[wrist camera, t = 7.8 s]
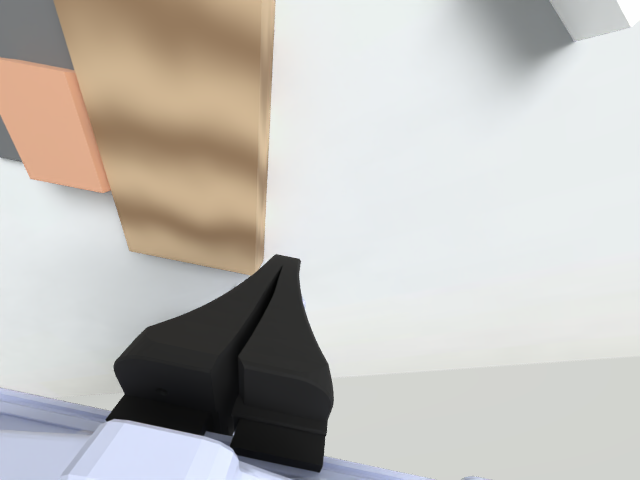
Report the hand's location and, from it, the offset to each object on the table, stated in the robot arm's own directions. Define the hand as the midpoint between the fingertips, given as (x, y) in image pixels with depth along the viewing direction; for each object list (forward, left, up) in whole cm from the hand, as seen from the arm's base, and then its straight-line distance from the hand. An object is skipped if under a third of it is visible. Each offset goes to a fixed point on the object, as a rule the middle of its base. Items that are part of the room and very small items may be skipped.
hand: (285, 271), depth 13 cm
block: (+3, +19, -9) cm, 21 cm away
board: (+3, +10, -9) cm, 14 cm away
